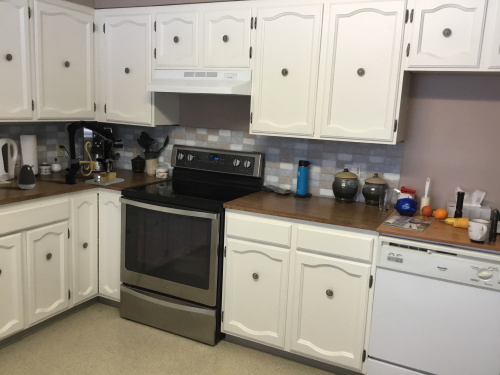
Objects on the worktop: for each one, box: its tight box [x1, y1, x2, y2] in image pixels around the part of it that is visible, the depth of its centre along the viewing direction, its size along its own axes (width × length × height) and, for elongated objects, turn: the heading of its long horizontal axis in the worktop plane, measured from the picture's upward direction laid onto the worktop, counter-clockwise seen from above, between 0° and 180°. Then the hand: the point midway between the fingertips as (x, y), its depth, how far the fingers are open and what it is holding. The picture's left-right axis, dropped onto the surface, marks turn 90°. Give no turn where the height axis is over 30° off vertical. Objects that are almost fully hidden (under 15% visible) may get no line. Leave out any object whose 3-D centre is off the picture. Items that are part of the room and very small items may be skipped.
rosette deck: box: [84, 171, 125, 186], centre depth 318 cm, size 22×16×6 cm
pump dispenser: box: [17, 163, 37, 191], centre depth 280 cm, size 10×10×15 cm
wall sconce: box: [78, 141, 98, 177], centre depth 337 cm, size 14×10×25 cm
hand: (107, 171), depth 320 cm, fingers closed on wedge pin, 2 cm apart
